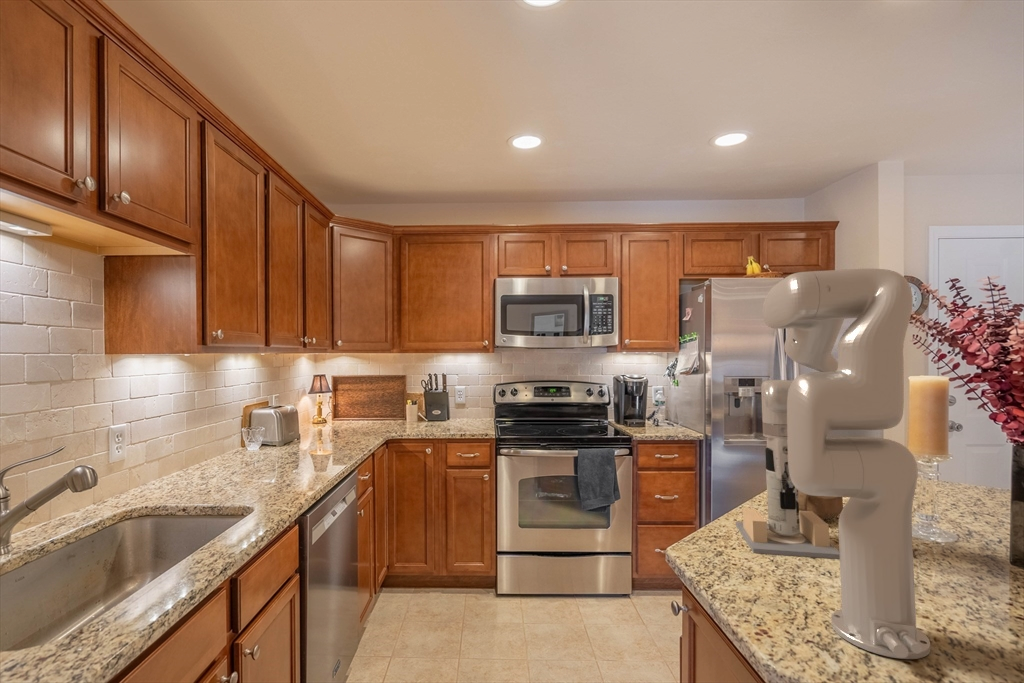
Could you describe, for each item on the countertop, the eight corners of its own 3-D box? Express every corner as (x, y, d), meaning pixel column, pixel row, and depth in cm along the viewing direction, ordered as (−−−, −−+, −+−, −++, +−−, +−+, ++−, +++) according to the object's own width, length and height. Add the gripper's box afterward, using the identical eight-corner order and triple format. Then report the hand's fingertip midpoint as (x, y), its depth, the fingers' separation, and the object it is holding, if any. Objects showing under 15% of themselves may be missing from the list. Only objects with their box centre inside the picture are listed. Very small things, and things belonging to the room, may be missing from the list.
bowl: (850, 528, 119) (834, 488, 121) (788, 533, 127) (775, 495, 129) (852, 509, 133) (838, 473, 135) (797, 514, 141) (784, 480, 143)
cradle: (842, 559, 105) (841, 531, 105) (753, 552, 109) (752, 526, 109) (811, 530, 122) (810, 506, 123) (735, 525, 127) (735, 502, 127)
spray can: (804, 537, 112) (801, 451, 113) (773, 535, 113) (770, 451, 114) (794, 527, 118) (790, 446, 119) (764, 526, 120) (761, 446, 120)
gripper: (810, 436, 107) (814, 516, 107) (785, 425, 124) (788, 495, 123) (773, 435, 109) (777, 514, 108) (754, 425, 126) (756, 493, 125)
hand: (783, 503), depth 116 cm, fingers closed on spray can, 6 cm apart
